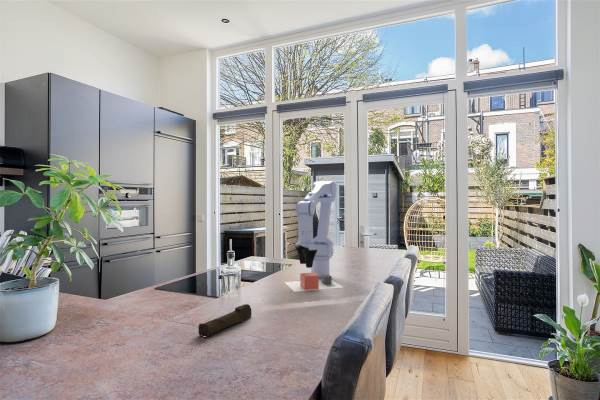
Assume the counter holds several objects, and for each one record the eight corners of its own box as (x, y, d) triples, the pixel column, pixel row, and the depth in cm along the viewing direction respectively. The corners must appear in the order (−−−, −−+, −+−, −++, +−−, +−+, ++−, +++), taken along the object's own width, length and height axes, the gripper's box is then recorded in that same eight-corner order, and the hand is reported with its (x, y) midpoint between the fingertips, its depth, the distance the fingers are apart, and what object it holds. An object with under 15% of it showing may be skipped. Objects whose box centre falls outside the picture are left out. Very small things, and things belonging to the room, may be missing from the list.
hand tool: (207, 340, 89) (207, 322, 89) (197, 337, 91) (197, 319, 91) (257, 319, 104) (257, 304, 104) (248, 316, 107) (248, 301, 107)
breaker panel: (284, 285, 142) (284, 275, 142) (329, 282, 148) (329, 271, 148) (294, 295, 128) (294, 283, 128) (344, 291, 134) (344, 279, 134)
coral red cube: (300, 286, 136) (300, 273, 136) (313, 284, 137) (313, 272, 137) (304, 289, 130) (304, 276, 130) (318, 288, 132) (318, 275, 132)
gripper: (290, 230, 142) (291, 262, 143) (301, 233, 129) (302, 270, 129) (307, 229, 145) (307, 261, 145) (319, 233, 131) (319, 268, 131)
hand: (306, 265), depth 137 cm, fingers open, 7 cm apart
